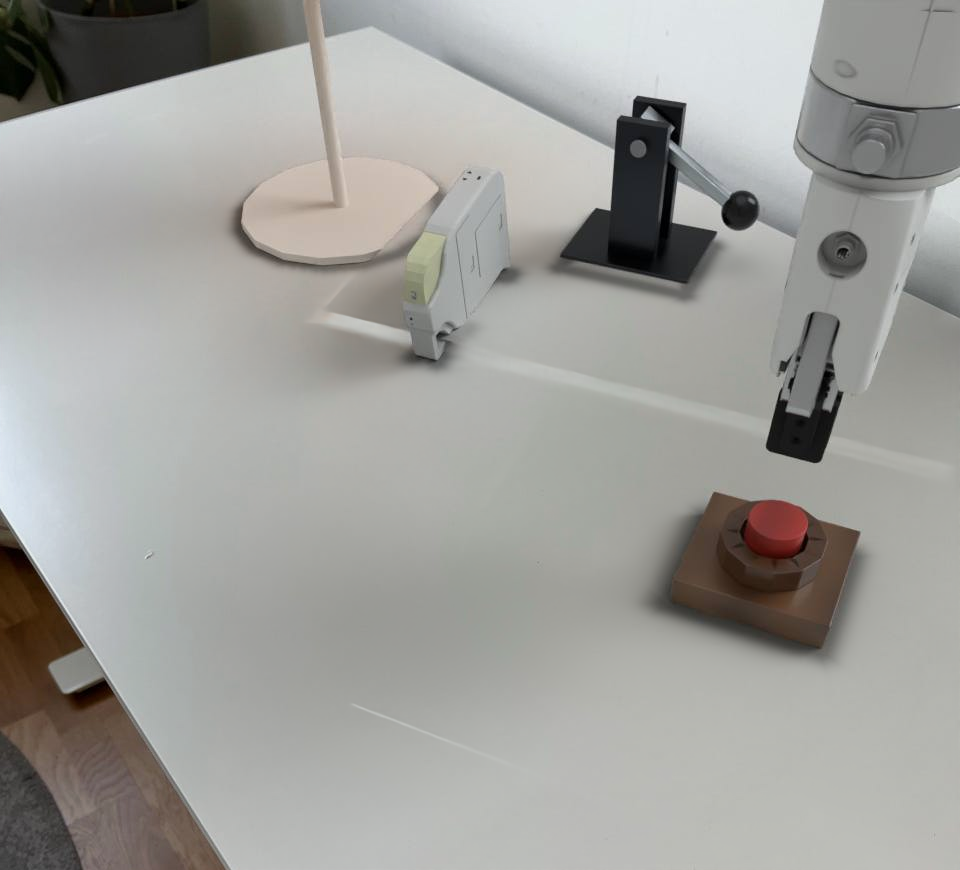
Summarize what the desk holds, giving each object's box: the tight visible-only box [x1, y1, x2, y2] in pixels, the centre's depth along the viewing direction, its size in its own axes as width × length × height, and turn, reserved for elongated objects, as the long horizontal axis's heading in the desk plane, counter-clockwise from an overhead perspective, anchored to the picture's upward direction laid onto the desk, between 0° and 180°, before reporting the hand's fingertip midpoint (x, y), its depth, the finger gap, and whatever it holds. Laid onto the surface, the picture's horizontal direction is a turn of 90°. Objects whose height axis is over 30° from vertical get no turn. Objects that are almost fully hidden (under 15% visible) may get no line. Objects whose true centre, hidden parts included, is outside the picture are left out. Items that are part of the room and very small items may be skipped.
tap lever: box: [640, 106, 761, 232], centre depth 83 cm, size 13×3×3 cm, turn 66°
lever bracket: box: [559, 95, 718, 285], centre depth 86 cm, size 12×9×13 cm
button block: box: [668, 491, 862, 649], centre depth 64 cm, size 10×9×4 cm
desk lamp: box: [240, 0, 440, 266], centre depth 86 cm, size 30×30×31 cm
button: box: [744, 499, 808, 559], centre depth 62 cm, size 4×4×2 cm
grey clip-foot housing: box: [402, 163, 512, 361], centre depth 82 cm, size 11×3×15 cm
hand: (795, 448), depth 57 cm, fingers closed
